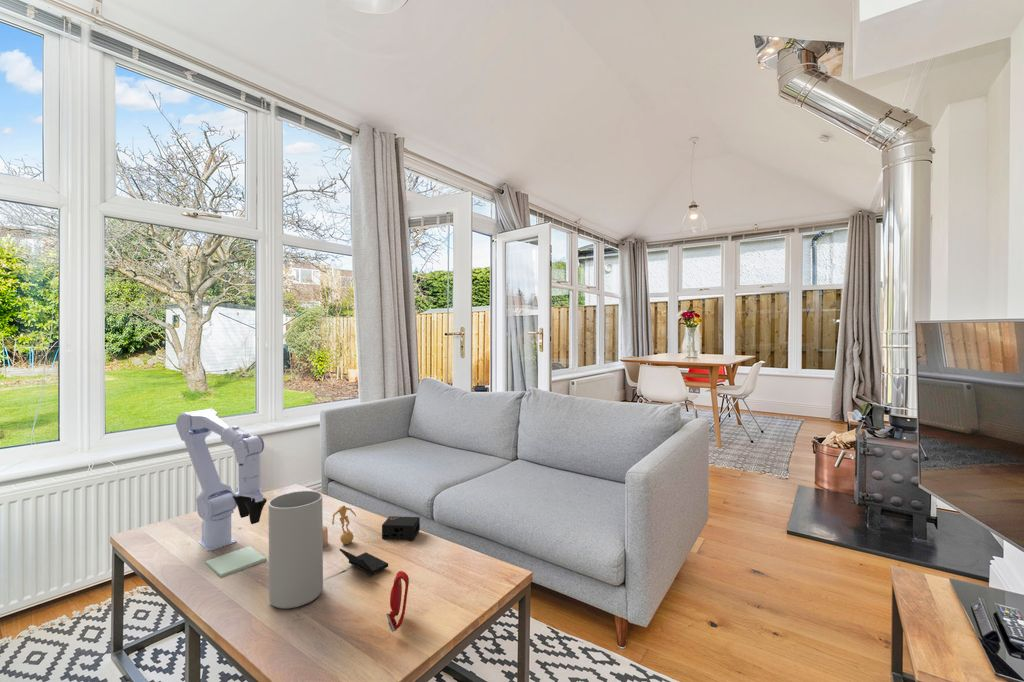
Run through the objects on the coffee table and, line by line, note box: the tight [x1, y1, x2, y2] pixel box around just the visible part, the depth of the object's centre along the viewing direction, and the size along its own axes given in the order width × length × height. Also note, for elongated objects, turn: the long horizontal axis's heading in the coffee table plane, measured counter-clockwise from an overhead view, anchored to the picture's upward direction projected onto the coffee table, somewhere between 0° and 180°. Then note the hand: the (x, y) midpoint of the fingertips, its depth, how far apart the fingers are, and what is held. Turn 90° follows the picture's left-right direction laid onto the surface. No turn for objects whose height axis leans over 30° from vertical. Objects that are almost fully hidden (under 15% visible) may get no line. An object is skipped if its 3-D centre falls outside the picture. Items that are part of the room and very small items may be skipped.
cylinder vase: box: [268, 490, 324, 609], centre depth 115 cm, size 12×12×25 cm
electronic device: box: [381, 515, 421, 541], centre depth 150 cm, size 7×11×5 cm
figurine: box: [331, 505, 357, 545], centre depth 144 cm, size 8×6×12 cm
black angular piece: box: [338, 548, 389, 576], centre depth 128 cm, size 12×7×10 cm
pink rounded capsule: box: [323, 525, 329, 548], centre depth 142 cm, size 5×5×5 cm
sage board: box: [204, 545, 267, 578], centre depth 131 cm, size 12×12×1 cm
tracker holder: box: [386, 570, 410, 633], centre depth 105 cm, size 12×4×10 cm, turn 5°
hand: (249, 519), depth 137 cm, fingers open, 7 cm apart
